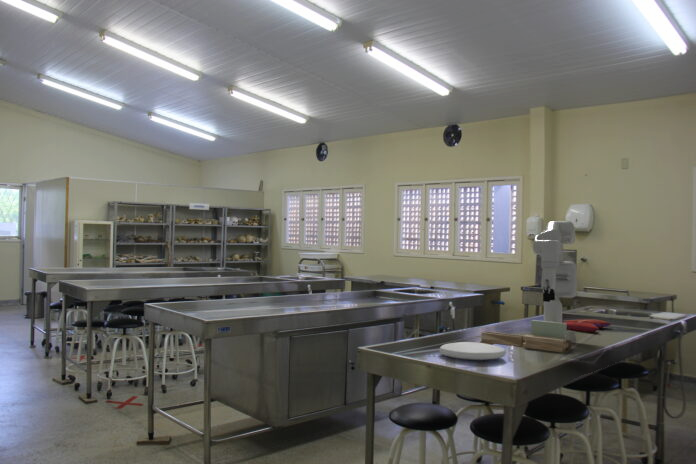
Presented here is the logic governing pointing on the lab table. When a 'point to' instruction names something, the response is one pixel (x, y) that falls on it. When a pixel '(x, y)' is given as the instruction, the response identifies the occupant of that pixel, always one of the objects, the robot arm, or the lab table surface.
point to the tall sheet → (548, 329)
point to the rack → (547, 343)
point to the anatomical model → (586, 325)
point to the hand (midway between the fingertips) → (548, 300)
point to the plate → (472, 351)
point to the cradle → (502, 338)
